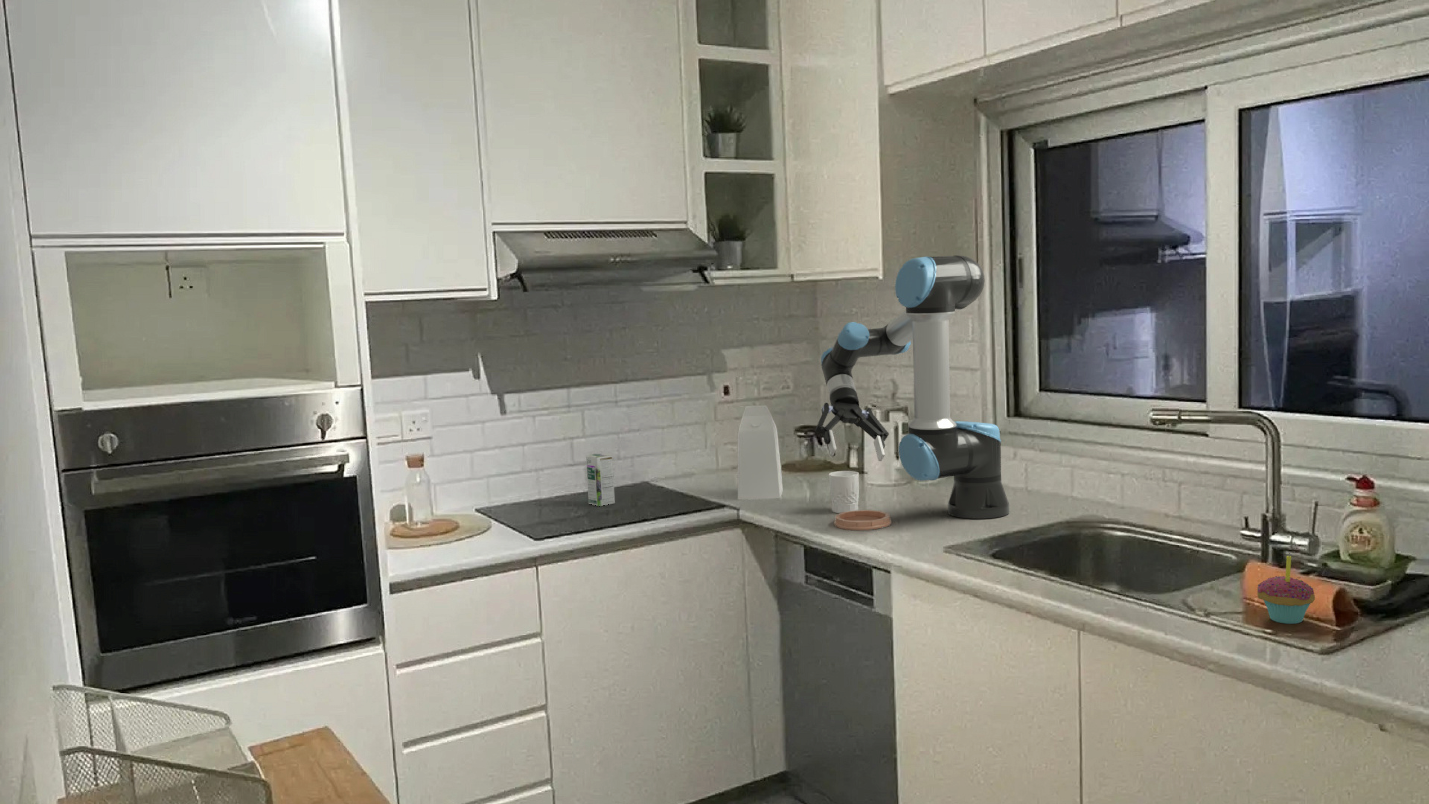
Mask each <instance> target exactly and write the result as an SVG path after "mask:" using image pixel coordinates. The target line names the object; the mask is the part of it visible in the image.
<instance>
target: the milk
mask: <svg viewBox="0 0 1429 804" xmlns="http://www.w3.org/2000/svg"><path fill="white" fill-rule="evenodd" d="M779 444H780V443H779V435H778V427H777V425H776V423H775V420H774V418H773V415H772V414H771V411H770V410H769V408H768V406H767V404H765V405H746V406H745V408H744V410H743V413H742V417H741V420H740V423H739V428H738V432H737V500H738V499H748V500H774V499H773V498H780V499H781V497H782V494H783V491H784V489H783V487H784V486H783V478H782V476H783V475H782V468H781V458H780V446H779Z"/></svg>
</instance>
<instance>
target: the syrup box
mask: <svg viewBox="0 0 1429 804" xmlns="http://www.w3.org/2000/svg"><path fill="white" fill-rule="evenodd" d="M585 460H586V461H585V463H586V474H587V475H586V478H587V479H586V481H587V493H588V494H587V496H588V505H589V504H592V505H591V506H595V505H596V507H599V506H600V507H604V506H603V505H605V506H609V505H612V504H615V503H616V497H615V485H614V484H615V482H614V480H615V479H614V468H613V467H614V463H613V454H607V453H591V454H587V455H586V456H585ZM608 504H609V505H608Z"/></svg>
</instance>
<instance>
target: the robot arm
mask: <svg viewBox="0 0 1429 804" xmlns="http://www.w3.org/2000/svg"><path fill="white" fill-rule="evenodd" d="M984 287H985V274H984V270H983V268H982V267H981V266H980V264H979V263H978V262H977V261H976V260H974V259H973V258H971V257H969V256H966V255H959V254H957V255H946V256H945V255H942V256H926V255H925V256H920V257H914V258H911V259H908V260H907V261H906V262H904V263H903V265H902V267H900V269H899V271H898V273H897V276H896V279H895V286H894V288H895V289H894V290H895V296H896V298H898V299H897V300H898V303H899V304H900V305H901V306H903V307H905V310H904V311H903V312H902V313H901V314H899V315H898V316H897V317H896V318H894V319H893V320H892V321H891V322H889V323H887V324H886V325H885V326H883V327H879V328H867V327H866V325H864V324H862V323H861V322H860V323H857V322H856V321H850V322H847V323H846V324H845V325H844V326H843V327H842V329H841V330H840V332H839V333H838V335H837V339H836V341H835V343H834V344H833V347H829V348H828V349H826V350H825V351H824V352H822V354H821V357H820V362H821V363H820V366H821V370H822V374H823V376H824V380H825V381H824V382H825V384H826V389H827V393H828V397H829V402H830V405H829V403H828V402H824V404H823V406H822V407H821V415H820V418H819V420H818V421H817V422H818V423H817V425H816V428H815V429H814V432H815V433H816V434H820V437H821V438H823V441H824V444H826V445H827V448H828V451H829V456H830V457H833V456H835V453H836V451H838V450H837V445H836V441H835V437H834V431H833V430H832V429H833V428H834V427H835V426H836V425H837V424H839V422H842V424H843V423H844V424H854V425H855V426H856V427H859V428H860V429H861V430H862V431H864V432H865V433H866V434H868V436H870V437H871V438H872V439H873V440H874V441H873V445H874V449H875V453H876V456H877V460H878V462H882V461H883V460H884V458H885V456H886V454H885V448H886V444H885V441H886V440H887V438H888V437H889V435H890V433H889V432H888V430H887V429H886V428H885V427H884V425H883V424H882V423H881V422H880V421H879V420H878V418H877V416H875V415H874V413H873V409H872V408H870V407H867V409H862V408H861V407H860V401H859V396H858V392H857V388H856V384H855V381H854V378H853V368H854V366H855V365H856V363H857V361H858V360H859V359H860V358H867V357H878V356H890V355H891V356H892V355H898V354H903V353H906V352H907V351H908V350H909V348H910V346H912V348H913V349H912V353H913V354H912V355H913V356H912V359H913V361H912V364H913V365H912V367H913V405H914V407H913V408H914V409H913V410H914V411H913V413H914V417H913V419H912V420H911V421H910V422H909V423H908V428H907V429H908V430H907V431H908V432H907V433H908V434H905V435H904V436H903V437H902V438H901V439H900V442H899V443H898V444H899V445H898V456H899V461H900V462H901V465H902V467H903V469H905V471H906V473H907V474H908V475H909V476H910V477H911V478H913V479H914V480H916V481H935V480H938V479H943V478H949V477H953V485H952V488H951V492H950V496H949V498H948V503H947V514H948V515H950V516H953V517H957V518H962V519H973V520H974V519H977V520H979V519H980V520H981V519H984V520H985V519H995V518H1001V517H1005V516H1008V514H1010V503H1009V502H1010V501H1009V499H1008V497H1007V494H1006V491H1005V489H1004V488H1005V487H1004V486H1003V482H1002V460H1001V459H1002V455H1001V454H1002V453H1001V452H1002V451H1001V450H1002V449H1001V448H1002V447H1001V443H1002V440H1001V434H1000V427H998V425H996V424H995V423H988V422H978V421H961V420H960V421H954V420H953V419H952V418H951V391H950V390H951V386H950V384H951V383H950V380H951V379H950V322H949V321H950V319H951V317H953V315H955V314H956V310H957V311H960V310H964V309H966V307H968V306H970V305H971V304H972V303H974V301H976V300H977V299H979V297H980V296H981V294H982V292H983V290H984ZM911 344H912V345H911ZM830 413H832V414H833V415H834V417H832V419H831V420H830V421H829V422H828V423H827V424H826V425H825V426H824V424H825V421H826V418H827V416H828V414H830Z"/></svg>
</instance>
